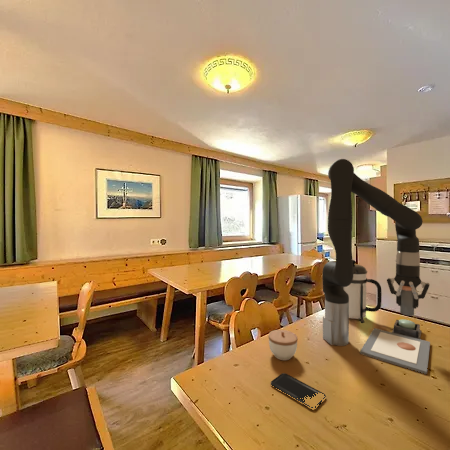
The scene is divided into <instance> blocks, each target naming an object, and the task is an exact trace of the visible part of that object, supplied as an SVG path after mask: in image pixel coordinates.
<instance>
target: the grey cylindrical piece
mask: <svg viewBox="0 0 450 450" xmlns="http://www.w3.org/2000/svg"><path fill="white" fill-rule="evenodd" d="M412 288H413V287H409V286H402V291H401V293H400V296H401V300H400V306H399V307H400V308H399V312H400V314H401V315H404V316H409V317H410V316H411V317H412V316H413V317H414V315H415V309H414V295H413V293H412Z"/></svg>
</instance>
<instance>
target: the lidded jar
mask: <svg viewBox="0 0 450 450" xmlns="http://www.w3.org/2000/svg"><path fill="white" fill-rule="evenodd" d="M298 339H299V338H298V336H297V334H296V333H294V332H293V331H291V330H287V329H275V330H272V331H270V332H269V333H268V345H269V349H270V352H271V353H272V354H273V355H274V357H275V358H276V359H277V360H279V361H288V360H291V358H293V357H294V355H295V354H296V352H297V348H298Z"/></svg>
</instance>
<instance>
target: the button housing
mask: <svg viewBox="0 0 450 450" xmlns="http://www.w3.org/2000/svg"><path fill="white" fill-rule="evenodd" d="M399 320H400V319H396V320H395V322H394V324H393V328H392V331H391V332H392V333H396V334H400V335H404V336H408V337H413V338H417V339H421V336H422V330H421V327H420V326H421V325H420V324H419V323H415V329H414V330H413V329H409V328H404V327H400V326H399Z"/></svg>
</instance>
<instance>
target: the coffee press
mask: <svg viewBox="0 0 450 450" xmlns="http://www.w3.org/2000/svg"><path fill="white" fill-rule="evenodd" d="M353 270H354V276H353V280H352V282H351V284H350V285H349V286H347V287H342V288H343V289H344V291H345V292H346V293H347V294H348V296H349V319H357V320H358V321H359V323H361V324H364V323H365V319H364V318H366V316H367V312H372V313H373V312H375V313H376V312H378V311H379V310H380V309H381V307H382V294H383V293H382V286H381V284H380V282H379V281H377V280H376V279H372V278H367V274H368V270H367V268H366V267H365V266H363V265H361V264H356V260H354V259H353ZM367 283H371V284H373V285H375V286H376V288H377V289H376V290H377V291H376V292H377V294H376V296H377V297H376V299H377V301H376V303H377V304H376V306H375V307H368V306H367Z"/></svg>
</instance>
